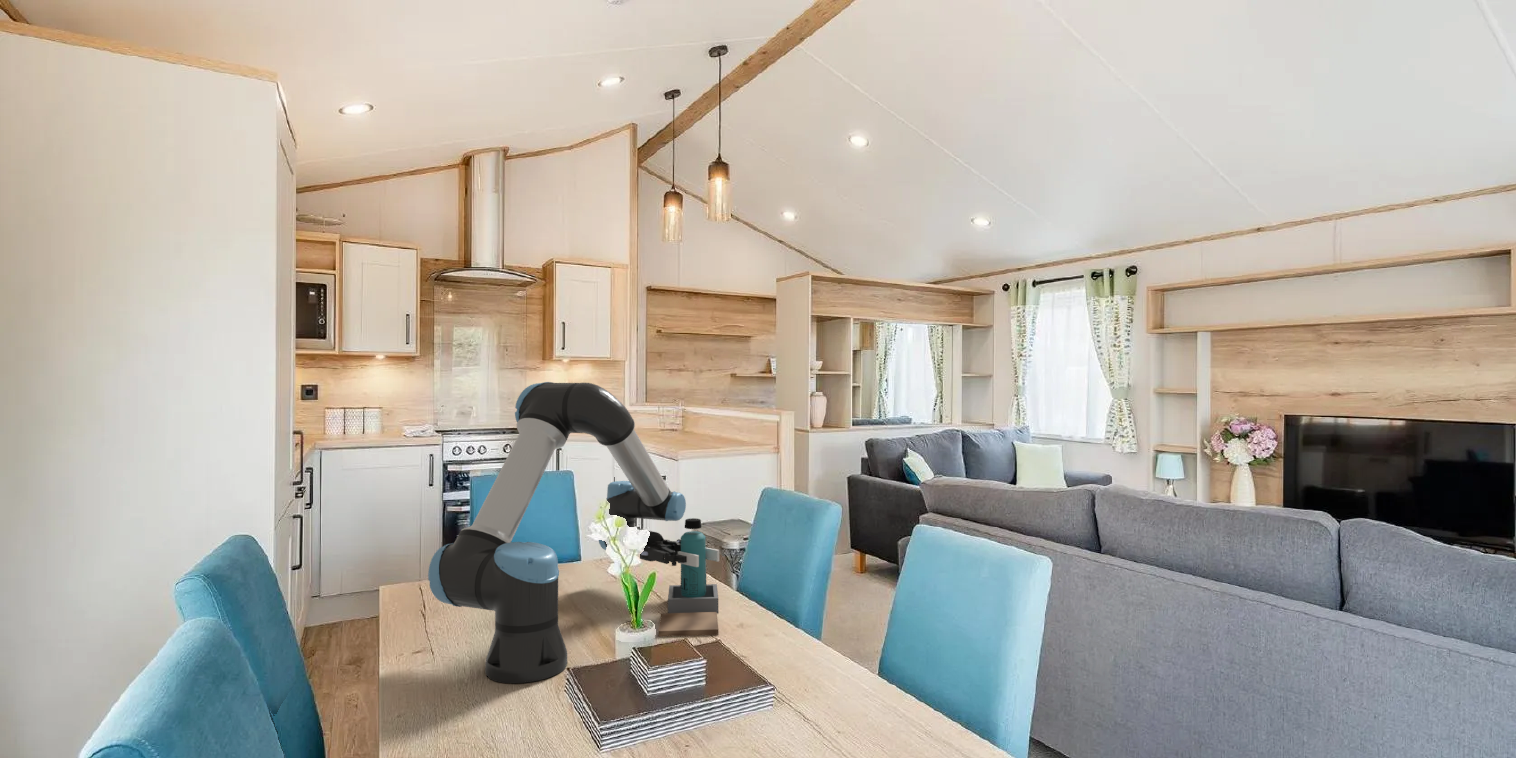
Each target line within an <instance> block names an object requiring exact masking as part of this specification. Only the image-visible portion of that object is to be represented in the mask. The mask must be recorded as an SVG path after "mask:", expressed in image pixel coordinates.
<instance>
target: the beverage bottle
mask: <svg viewBox="0 0 1516 758" xmlns="http://www.w3.org/2000/svg"><path fill="white" fill-rule="evenodd" d="M684 528H685V529H686V530H691V531H686V532H684V533H683V534H682V535H681V536H680V540H681V552H686V553H691V554H695V555H699V567H694V566H689V565H685V564H680V576H679V577H680V583H679V585H681V586H680V588H681V590H680V591H681V594H682V596H684V597H692V598H693V597H701V596H704V595H705V594H706V589H707V588H706V584H707V561H706V560H707V559H706V543H707V542H706V541H707V540H706V538H707V537H706V535H705V534H704V533H703V532H702V531H696V530H698V529H702V520H701V519H700V518H694V517H693V518H691V517H690V518H687V519H685V520H684ZM693 530H695V531H693Z"/></svg>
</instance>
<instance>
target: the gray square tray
mask: <svg viewBox="0 0 1516 758" xmlns="http://www.w3.org/2000/svg"><path fill="white" fill-rule="evenodd" d="M680 586H681V585H680V584H672V585H671V584H670V585H669V588H668V594H667V595H668V596H667V613H694V612H717V614H719V592H718V584H717V583H712V584H711V583H709V584H708V583H706V588H707V589H706V594H705V595H704V596H701V597H693V598H692V597H684V596H682V594H681V591H680V590H681V588H680Z"/></svg>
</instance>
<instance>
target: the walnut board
mask: <svg viewBox="0 0 1516 758" xmlns="http://www.w3.org/2000/svg"><path fill="white" fill-rule="evenodd" d="M659 617H660V618H659V623H658V624H659V625H658V634H657V635H658V637H660V638H661V637H664V638H665V637H687V636H688V637H690V636H693V637H694V636H718V635H719V622H718V621H719V620H718V613H717V612H694V613H668V612H666V613H665V612H664V613H663V612H662V613H660V616H659Z"/></svg>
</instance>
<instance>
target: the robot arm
mask: <svg viewBox="0 0 1516 758" xmlns="http://www.w3.org/2000/svg"><path fill="white" fill-rule="evenodd" d="M515 409H516V411H515V412H514V416H515V422H516V429H517V431H518V436H517V438H516V439H515V441H514V443H513V445H512V447H511V449H510V452H509V453H508V455H507V457H506V459H505V461H504V463H503V465H502V467H501V469H500V471H499V472H498V474H497V477H496V478H495V480H494V482H493V484H492V486H491V488H490V490H489V492H488V494H487V496H486V497H485V500H484V501H483V503H482V505H481V507H480V509H479V511H478V514H477V515H476V517H475V518H474V521H473V523H472V525H470V526H467V527H465V528H461V530H460V531H459V533H458V535H457V537H456V539H455V541H454V542H452V543H447V544H444V545H443V546H440V547H439V548H438V549H437V550H436V552H434V554H433V555H432V558H431V560H430V562H429V566H428V573H427V577H428V582H429V589H430V591H431V594H432V595H433V596H434V598H435V599H437V600H438V601H439V602H441V603H444V604H448V605H451V606H454V607H457V608H458V607H459V608H462V607H466V608H471V609H479V610H486V611H493V612H494V619H495V620H494V622H495V623H494V633H493V637H492V640H491V643H490V646H489V649H488V652H487V655H486V658H485V672H484V674H485V676H486V675H487V676H488V677H489V678H488V677H487V676H486V677H487V678H488V679H489V680H492V681H495V682H498V683H505V684H525V683H533V682H537V681H542V680H545V679H549V678H551V677H553V676H556V675H558V674H560V673H561V672H563V671H565V669H566V667H567V666H568V651H567V647H566V644H565V641H564V638H563V635H562V632H561V630H560V626H559V576H560V570H559V565H558V564H559V561H558V556H557V553H556V550H554V549H553V548H551V547H550V546H548V545H545V544H542V543H538V542H532V541H527V542H524V541H513V542H512V540H513V538H514V536H515V534H516V532H517V530H518V528H519V526H520V524H521V521H522V519H523V517H524V515H525V513H526V511H527V508H528V507H529V505H530V503H531V501H532V498H533V496H534V494H535V492H536V490H537V488H538V486H539V484H540V481H541V480H542V478H543V475H544V473H545V471H546V469H547V467H548V465H549V463H550V460H551V459H552V457H553V454H554V453H555V452H554V451H555V450H557V449H560V448H563V447H564V446H565V444H566V442H567V440H568V438H569V437H570V434H587V435H590V436H592V437H594V438H595V439H596V441H597V442H598V443H599V445H601V446H605V447H606V448H607V449H608V451H609V452H610V454H611V455H612V457H613V458H614V460H615V462H616V463H617V465H618V466H619V468H620V470H621V471H622V473H624V475H625V477H626V478H627V480H618V481H612V482H610V483H609V484H607V490H606V491H607V492H606V502H607V501H608V502H609V503H610V509H609V514H610V515H617V516H620V517H623V518H625V519H626V521H627V525H628V526H629V527H635V528H636V525H635V524H636V519H642V520H643V519H644V520H653V521H665V522H678V521H680V520H682V518H683V517H684V515H685V512H686V507H687V503H686V497H685V495H684V494H683V493H681V492H678V491H677V492H676V491H671V490H670V488H669V487H668V485H667V483H666V482H665V480H664V478H663V476H662V474H661V473H660V471H659V469H658V468H657V466H656V464H655V462H654V461H653V459H652V458H651V456H650V454H649V452H648V451H647V449H646V447H645V446H644V444H643V442H642V440H641V438H640V436H639V435H638V434H637V432H636V430H635V427H636V424H635V423H636V422H635V420H634V418H633V416H632V415H631V413H630V412H629V410H628V409H627V408H626V406H625V405H624V404H623V403H622V402H621V401H620V400H619V399H618V398H617V397H616V396H615V395H613V394H612V393H611V392H610V391H608V390H607V389H605V388H604V387H602V386H600V385H597V384H594V383H591V382H551V381H544V382H538V383H533V384H530V385H528V386H526V387H525V388H524V389H523V390H522V392H520V394H519V395H518V398H517V399H516V403H515ZM638 529H639V530H644V529H643V528H642V529H641V528H638ZM648 531H649V532H650V536H649V538H648V542H647V545H646V546H645V548H644V551H643V552H642V553H641V554H640V559H639V560H643V561H646V562H659V563H661V564H664V565H668V564H670V563H671V566H672V567H676V566H677V565H678V564H680V565H681V564H685V565H689V566H694V567H699V555H695V554H691V553H686V552H681V538H680V539H679V538H678V539H676V541H673V540H670V539H664V537H663V536H662V534H660V532H657V531H652V530H648ZM598 544H599V546H600V547H601V549H603V550H605V551H606V547H607V544H606V542H605V541H602V540H598ZM706 560H709V561H713V562H720V549H716V548H710V547H706Z"/></svg>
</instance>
